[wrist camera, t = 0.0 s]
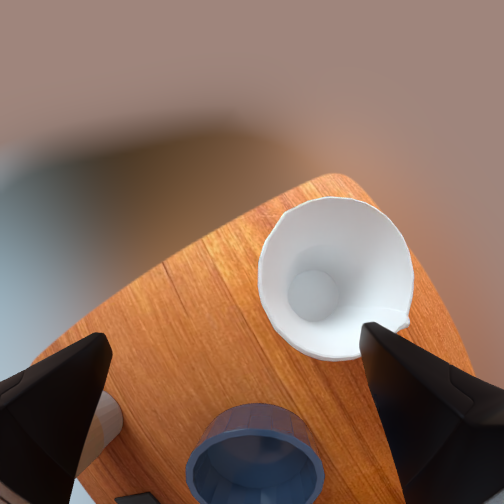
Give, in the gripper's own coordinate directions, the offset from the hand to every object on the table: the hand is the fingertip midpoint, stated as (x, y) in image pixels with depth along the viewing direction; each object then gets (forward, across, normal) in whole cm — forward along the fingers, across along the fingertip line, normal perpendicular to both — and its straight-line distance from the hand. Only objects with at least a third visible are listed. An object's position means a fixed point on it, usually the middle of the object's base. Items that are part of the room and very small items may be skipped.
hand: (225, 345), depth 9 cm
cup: (+14, -6, +6) cm, 16 cm away
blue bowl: (+6, 0, +18) cm, 19 cm away
